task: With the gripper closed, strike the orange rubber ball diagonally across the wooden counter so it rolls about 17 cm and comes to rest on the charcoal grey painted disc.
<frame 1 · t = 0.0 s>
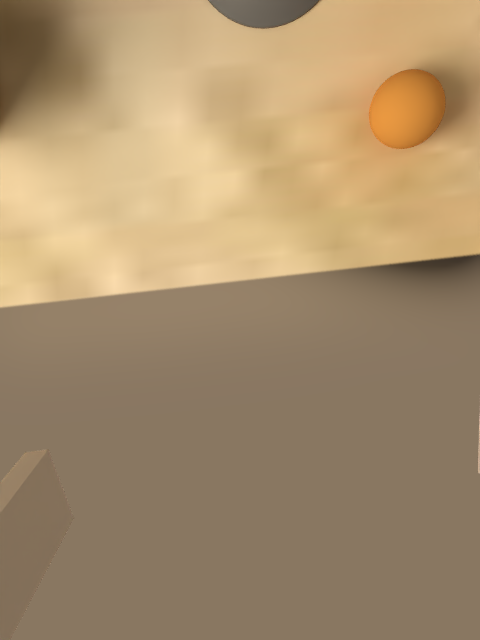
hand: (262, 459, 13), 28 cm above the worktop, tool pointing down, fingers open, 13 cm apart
ball: (406, 110, 32), on the worktop
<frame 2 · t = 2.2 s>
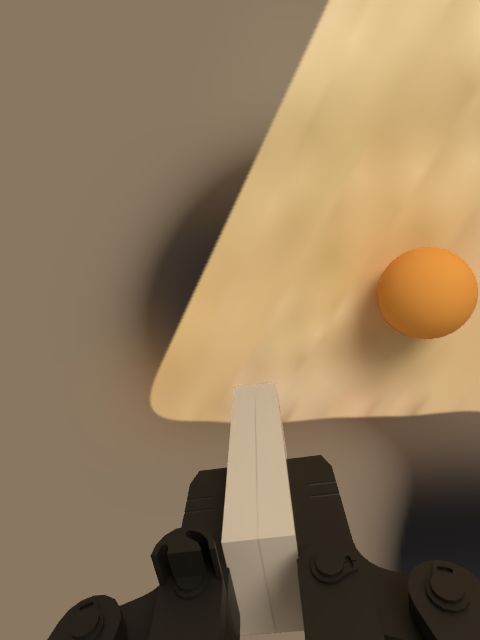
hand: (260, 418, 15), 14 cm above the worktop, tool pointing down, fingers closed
ball: (425, 293, 25), on the worktop
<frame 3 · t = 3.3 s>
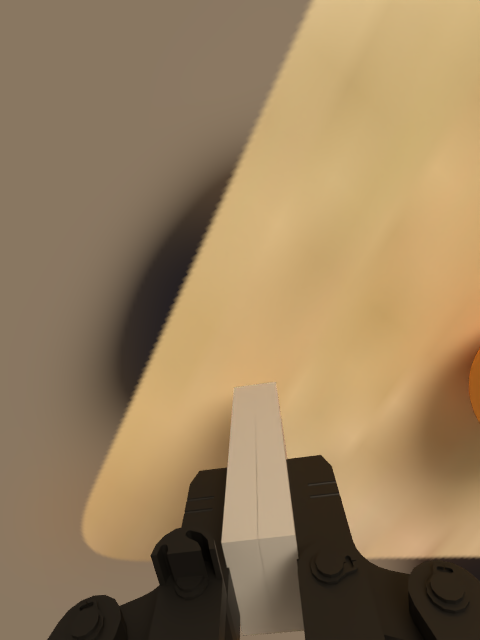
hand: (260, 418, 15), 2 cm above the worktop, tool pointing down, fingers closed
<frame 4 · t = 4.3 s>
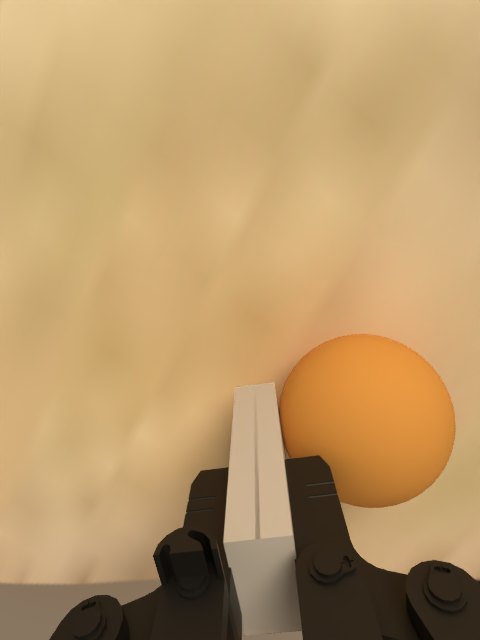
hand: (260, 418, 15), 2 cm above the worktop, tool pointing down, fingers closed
ball: (362, 416, 14), on the worktop, touching gripper
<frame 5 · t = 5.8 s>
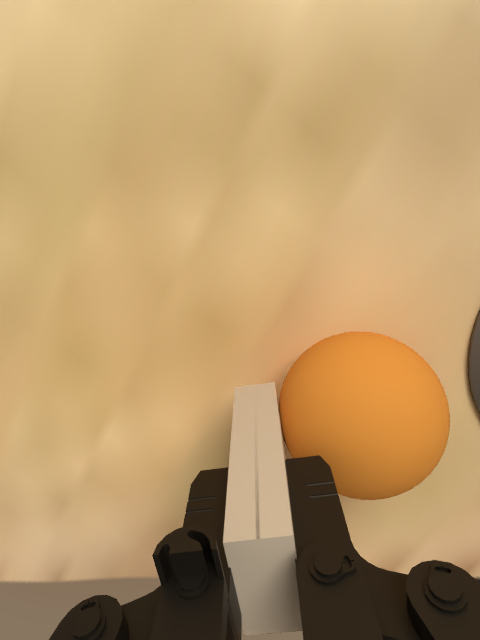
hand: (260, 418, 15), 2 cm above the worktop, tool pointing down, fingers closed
ball: (359, 412, 14), on the worktop, touching gripper
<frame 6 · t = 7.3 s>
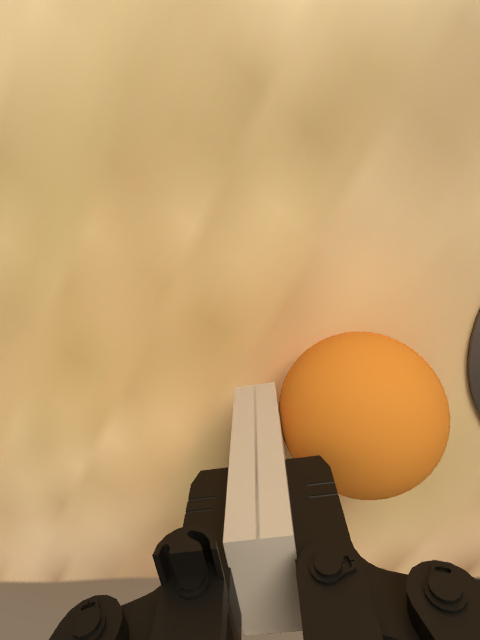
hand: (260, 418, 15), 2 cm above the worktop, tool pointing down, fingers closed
ball: (359, 412, 14), on the worktop, touching gripper
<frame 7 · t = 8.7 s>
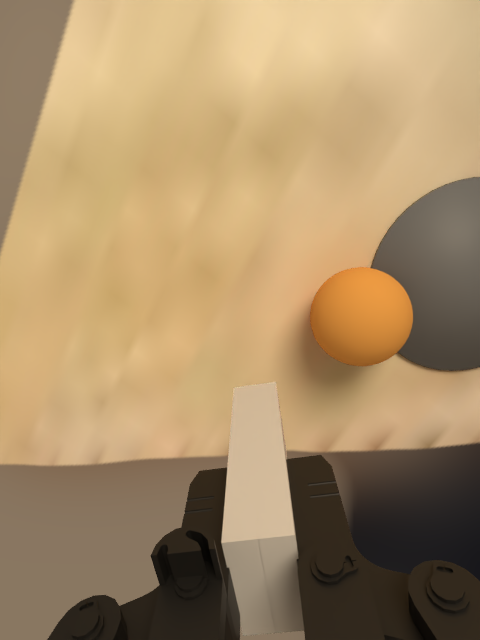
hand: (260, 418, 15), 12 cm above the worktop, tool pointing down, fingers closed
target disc: (467, 280, 25), on the worktop
ball: (359, 316, 23), on the worktop
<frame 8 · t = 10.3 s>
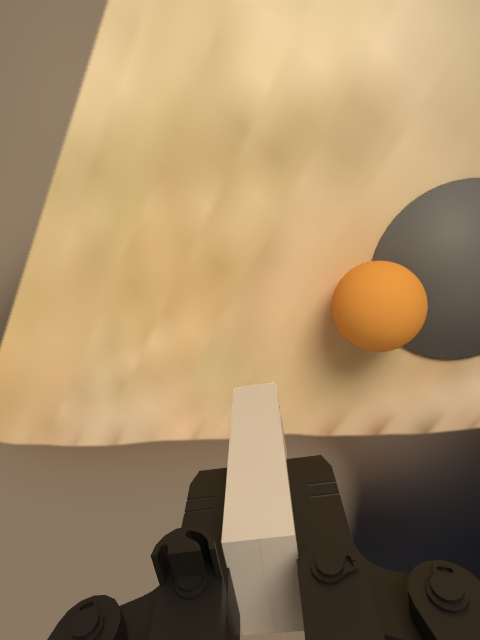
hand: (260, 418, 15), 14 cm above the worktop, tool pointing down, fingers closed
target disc: (461, 274, 27), on the worktop
ball: (377, 306, 25), on the worktop
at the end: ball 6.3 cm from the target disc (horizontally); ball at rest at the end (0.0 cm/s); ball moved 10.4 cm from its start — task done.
